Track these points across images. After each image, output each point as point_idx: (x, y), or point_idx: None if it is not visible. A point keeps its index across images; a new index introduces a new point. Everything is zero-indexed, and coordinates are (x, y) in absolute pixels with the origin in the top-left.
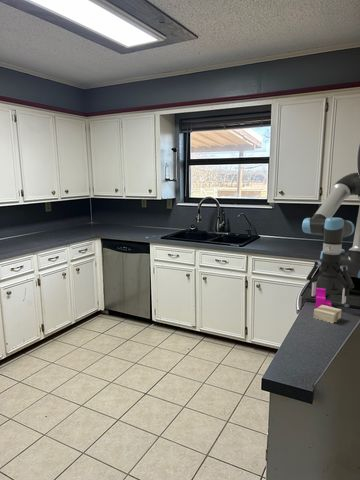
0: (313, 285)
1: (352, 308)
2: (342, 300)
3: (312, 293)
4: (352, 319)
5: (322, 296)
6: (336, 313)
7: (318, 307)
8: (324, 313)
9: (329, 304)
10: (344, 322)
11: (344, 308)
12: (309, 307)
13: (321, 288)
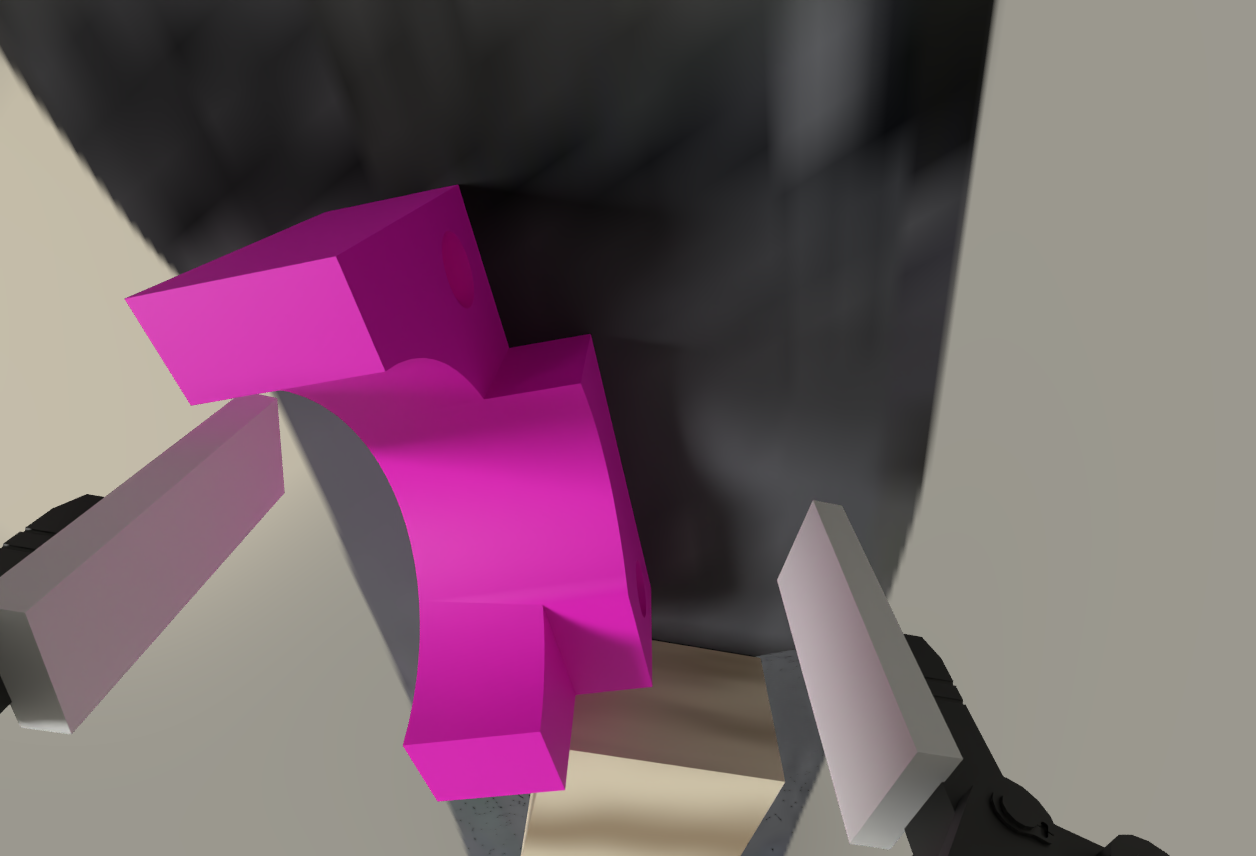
0: (124, 664)
1: (922, 173)
2: (797, 620)
3: (241, 526)
4: (880, 575)
5: (407, 378)
6: (738, 850)
7: (538, 818)
8: None
9: (616, 642)
10: (797, 668)
11: (792, 250)
12: (355, 465)
13: (240, 288)
